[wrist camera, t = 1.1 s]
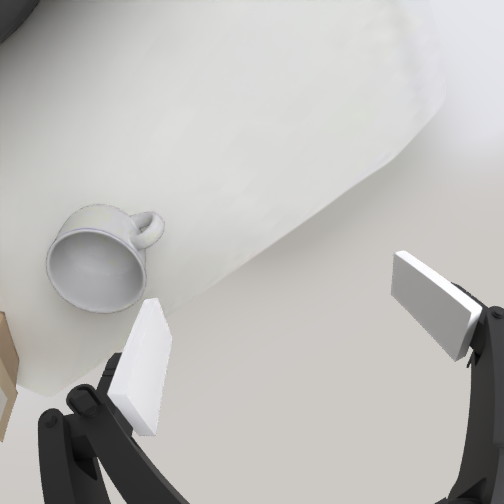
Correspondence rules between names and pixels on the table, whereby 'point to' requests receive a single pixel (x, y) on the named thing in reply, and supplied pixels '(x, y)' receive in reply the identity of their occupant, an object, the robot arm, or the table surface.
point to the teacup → (102, 257)
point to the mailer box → (8, 350)
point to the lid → (5, 399)
